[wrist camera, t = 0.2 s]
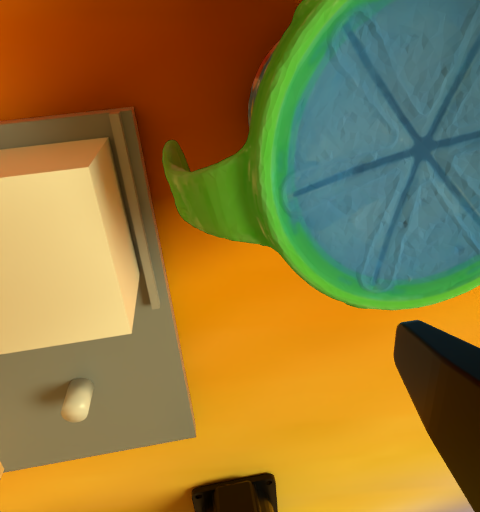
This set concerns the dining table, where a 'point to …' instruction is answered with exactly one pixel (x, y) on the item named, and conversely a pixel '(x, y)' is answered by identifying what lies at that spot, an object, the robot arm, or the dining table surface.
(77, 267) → the cover
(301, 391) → the dining table surface
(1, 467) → the orange hollow square block
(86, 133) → the base plate
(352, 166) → the snack cup
